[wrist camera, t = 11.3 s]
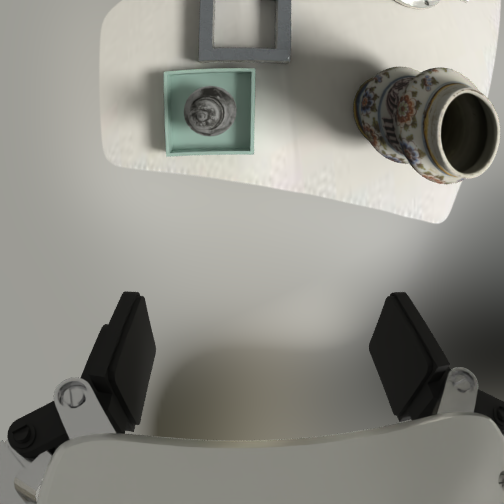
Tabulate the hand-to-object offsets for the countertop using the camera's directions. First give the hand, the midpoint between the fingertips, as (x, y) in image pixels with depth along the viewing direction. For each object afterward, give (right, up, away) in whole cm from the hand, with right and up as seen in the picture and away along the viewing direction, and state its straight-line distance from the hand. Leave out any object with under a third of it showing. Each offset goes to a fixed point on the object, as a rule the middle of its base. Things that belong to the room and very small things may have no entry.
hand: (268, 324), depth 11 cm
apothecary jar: (+17, +22, +24) cm, 37 cm away
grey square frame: (-1, +30, +18) cm, 35 cm away
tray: (-6, +20, +24) cm, 32 cm away
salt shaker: (-5, +20, +23) cm, 31 cm away
